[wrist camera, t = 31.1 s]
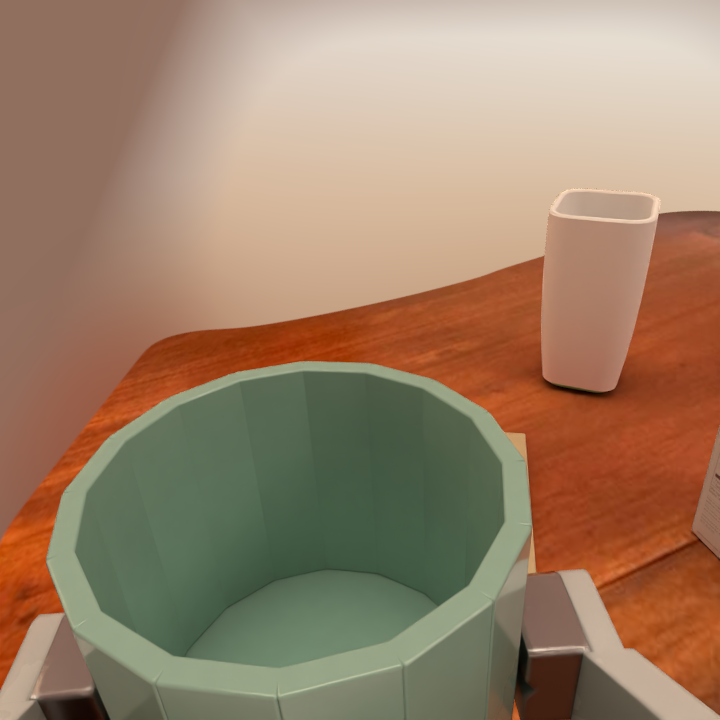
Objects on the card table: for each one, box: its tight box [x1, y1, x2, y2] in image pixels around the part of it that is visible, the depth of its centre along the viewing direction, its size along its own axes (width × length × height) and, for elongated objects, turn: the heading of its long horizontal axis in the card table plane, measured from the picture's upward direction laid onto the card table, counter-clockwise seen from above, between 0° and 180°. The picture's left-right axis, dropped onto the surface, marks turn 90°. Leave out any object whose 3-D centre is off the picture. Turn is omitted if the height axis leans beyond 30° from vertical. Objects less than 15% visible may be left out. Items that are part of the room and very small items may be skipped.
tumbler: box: [46, 361, 533, 720], centre depth 11 cm, size 6×6×9 cm
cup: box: [541, 189, 661, 393], centre depth 50 cm, size 7×7×15 cm
